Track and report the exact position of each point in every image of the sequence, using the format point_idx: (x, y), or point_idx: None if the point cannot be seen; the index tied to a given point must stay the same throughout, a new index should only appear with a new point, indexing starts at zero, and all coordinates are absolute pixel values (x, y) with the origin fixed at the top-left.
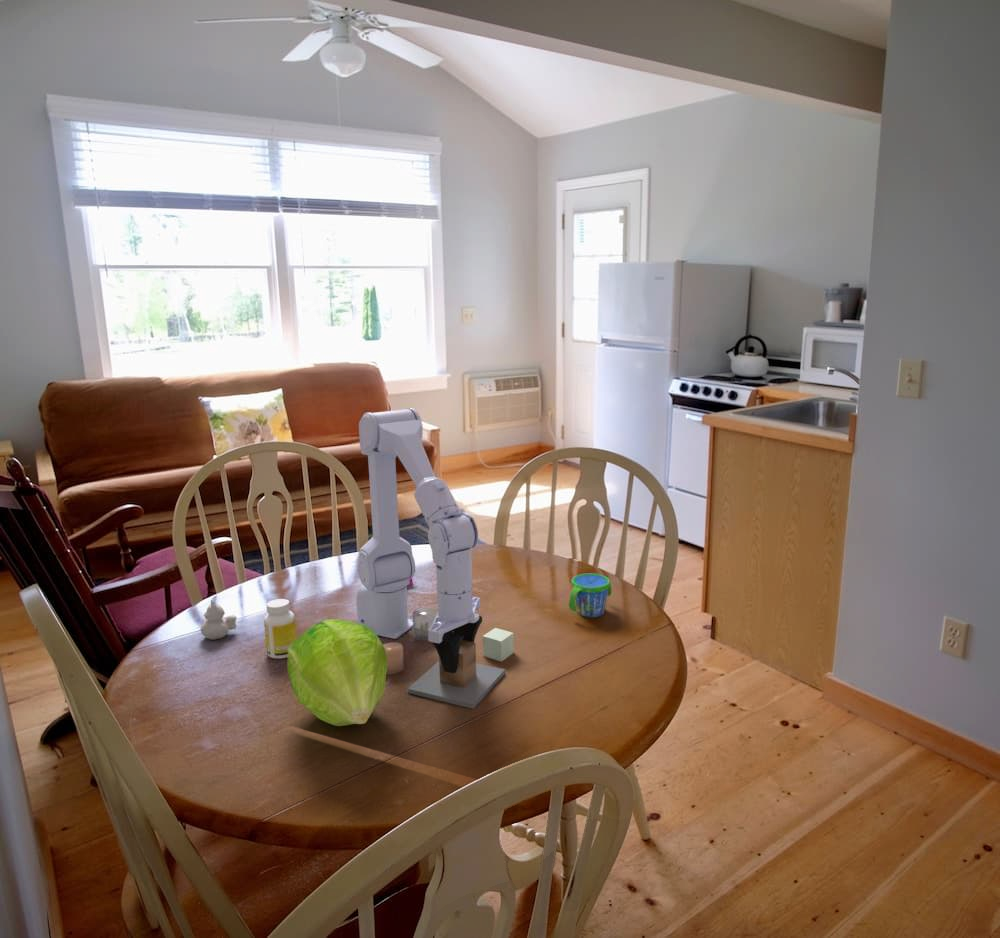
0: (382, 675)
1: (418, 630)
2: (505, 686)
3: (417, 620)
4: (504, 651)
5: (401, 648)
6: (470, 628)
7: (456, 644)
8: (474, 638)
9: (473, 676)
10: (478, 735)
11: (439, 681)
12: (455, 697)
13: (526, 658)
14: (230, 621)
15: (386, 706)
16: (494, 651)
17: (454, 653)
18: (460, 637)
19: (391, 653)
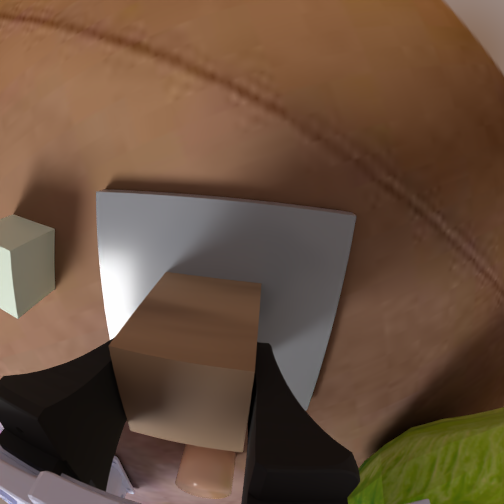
0: (499, 465)
1: None
2: (175, 154)
3: None
4: (26, 232)
5: (196, 477)
6: (78, 416)
7: (350, 452)
8: (84, 358)
9: (185, 277)
10: (465, 157)
11: None
12: (326, 288)
13: (21, 167)
14: None
15: (368, 411)
16: (38, 261)
17: (303, 410)
18: (298, 475)
19: (227, 485)
